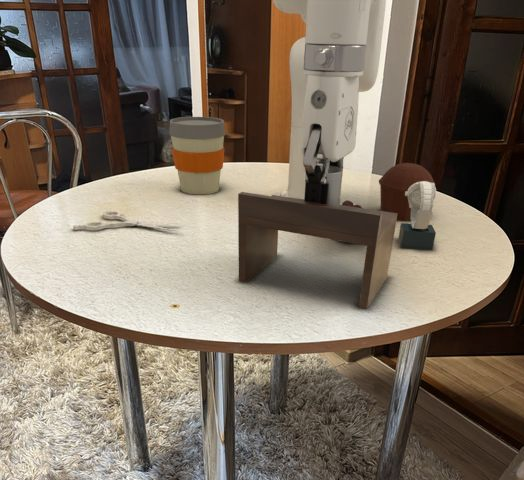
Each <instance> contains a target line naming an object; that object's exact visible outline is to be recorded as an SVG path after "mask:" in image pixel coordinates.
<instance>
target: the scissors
mask: <svg viewBox="0 0 524 480" xmlns="http://www.w3.org/2000/svg"><path fill="white" fill-rule="evenodd" d="M102 217H103V218H104V219H106V220H119V222H103V221H99V220H98V221H90V222H86V223H84V224H76V225H75V224H74V225H73V226H72V228H73V230H74V231H75V230H76V231H77V230H86V231H87V230H88V231H100V230H105V229H108V228H119V227H134V226H137V227H145V228H149V229H150V228H151V229H156V230H163V231H170V232H176V230H175V229H171V228H166V227H161V226H157V225H162V226H164V225H165V226H166V225H168V226H170V225H171V226H173V225H177V226H178V223H172V222H171V223H169V222H154V221H153V222H152V221H151V222H150V221H140V220H137V219H132V218H127V217H126V216H125V215H121V213H120V212H119V211H116V210H107V211H104V212H103V213H102ZM177 232H178V233H179V232H180V231H179V230H177Z"/></svg>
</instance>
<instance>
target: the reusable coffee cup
mask: <svg viewBox="0 0 524 480" xmlns="http://www.w3.org/2000/svg"><path fill="white" fill-rule="evenodd" d="M225 127H226V126H225V120H224V119H221V118H217V117H212V116H211V117H210V116H183V117H182V116H181V117H175V118H171V119H170V120H169V134H168V135H169V136H170V138H171V142H172V147H171V152H172V159H173V164H174V169H175V170H177V175H178V182H179V186H180V190H181V192H183V193H185V194H188V195H189V194H190V195H210V194H214V193H217V192H219V190H220V182H221V173H222V172H221V171H222V169H223V168H224V159H225V149H226V148H225V146H224V141H225V136H226V128H225Z"/></svg>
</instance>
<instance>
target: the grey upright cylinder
mask: <svg viewBox="0 0 524 480" xmlns="http://www.w3.org/2000/svg"><path fill="white" fill-rule="evenodd" d="M319 166H320V168H321V171H322V168H323V165H319ZM343 171H344V169H343V170H342V169H341V168H339V167H335V166H329V171H328V176H327V182H326V183H328V184H329V190H328V201H327V205H333V206H339V205H340V203H341V202H340V201H341V193H342V183H343V174H344V173H343Z"/></svg>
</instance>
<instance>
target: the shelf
mask: <svg viewBox="0 0 524 480" xmlns="http://www.w3.org/2000/svg"><path fill="white" fill-rule="evenodd" d="M237 202H238V203H237V215H238V216H237V218H238V219H237V223H238V227H237V229H238V231H237V232H238V238H237V239H238V242H237V243H238V244H237V245H238V246H237V247H238V248H237V249H238V282H241V283H247V282H248V281H249V280H251V279H252V278H253V277H254V276H255V275H257V274H258V273H259V272H260V271H262V270H263V269H264V268H265V267H266V266H267V265H269V264H270V263H271V262H272V261H273V260H275V259H276V258H277V257H278V248H279V247H278V245H279V244H278V243H279V232H285V233H291V234H298V235H302V236H309V237H315V238H320V239H326V240H332V241H338V242H344V243H345V242H348V243H347V244H353V245H354V244H355V245H360V246H366V250H365V255H364V264H363V272H362V279H361V287H360V294H359V301H358V308H360V309H365V310H367V309H368V308H369V307H370V305H371V303H372V302H373V300H374V298H375V297H376V296H377V294H378V292H379V291H380V289H381V287H382V286H383V284H384V283H385V281H386V280H387V278H388V273H389V268H390V262H391V255H392V250H393V243H394V238H395V231H396V227H397V226H396V225H397V213H392V212H385V211H381V210H378V209H371V208H370V209H369V208H364V207H362V208H358V207H351V206H344V205H342V204H339V206H333V205H327V204H320V203H313V202H306V201H304V199H297V198H291V197H284V196H281V195H277V194H271V195H267V194H260V193H254V192H253V193H252V192H245V191H241V192H239V193H238V194H237Z"/></svg>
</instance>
